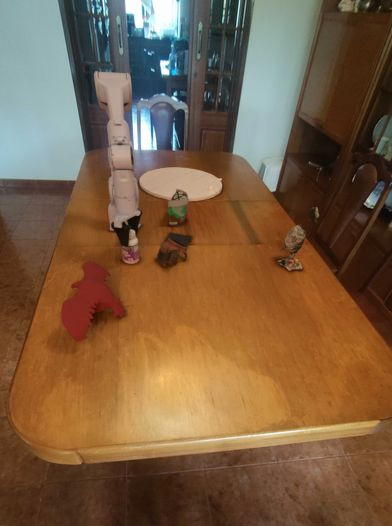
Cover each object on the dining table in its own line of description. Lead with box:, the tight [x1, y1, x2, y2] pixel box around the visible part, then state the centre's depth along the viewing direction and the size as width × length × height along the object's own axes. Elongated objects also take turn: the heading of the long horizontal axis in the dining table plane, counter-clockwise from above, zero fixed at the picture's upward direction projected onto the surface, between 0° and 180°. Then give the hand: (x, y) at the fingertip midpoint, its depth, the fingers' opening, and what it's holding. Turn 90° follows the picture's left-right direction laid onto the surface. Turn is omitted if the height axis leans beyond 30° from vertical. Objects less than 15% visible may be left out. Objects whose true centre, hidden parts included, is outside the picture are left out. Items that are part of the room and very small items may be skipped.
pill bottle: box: [120, 229, 140, 265], centre depth 100 cm, size 5×5×10 cm
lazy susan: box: [138, 166, 223, 202], centre depth 150 cm, size 40×39×3 cm
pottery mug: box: [156, 237, 188, 268], centre depth 102 cm, size 12×10×8 cm
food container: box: [167, 189, 190, 227], centre depth 121 cm, size 12×6×10 cm, turn 168°
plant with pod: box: [276, 206, 320, 272], centre depth 101 cm, size 8×11×20 cm
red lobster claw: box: [60, 260, 126, 343], centre depth 81 cm, size 28×9×15 cm
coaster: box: [164, 232, 192, 247], centre depth 114 cm, size 8×8×1 cm
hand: (129, 239), depth 98 cm, fingers open, 7 cm apart
